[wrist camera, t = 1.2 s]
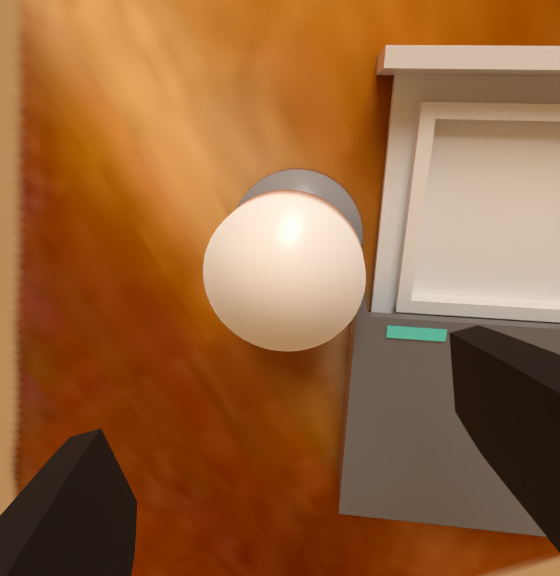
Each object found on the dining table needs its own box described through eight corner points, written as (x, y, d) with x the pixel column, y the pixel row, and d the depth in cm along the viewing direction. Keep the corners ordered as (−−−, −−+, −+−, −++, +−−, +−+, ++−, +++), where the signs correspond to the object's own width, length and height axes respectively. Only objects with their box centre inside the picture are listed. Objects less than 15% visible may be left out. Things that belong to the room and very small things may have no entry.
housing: (642, 304, 20) (698, 339, 17) (579, 490, 25) (615, 546, 21) (353, 287, 22) (356, 317, 19) (338, 466, 26) (338, 515, 23)
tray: (719, 58, 17) (801, 47, 14) (630, 324, 21) (679, 358, 18) (377, 56, 18) (386, 45, 15) (355, 306, 22) (358, 336, 19)
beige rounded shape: (369, 192, 16) (373, 200, 14) (356, 336, 18) (358, 357, 16) (211, 186, 16) (199, 193, 15) (216, 326, 18) (206, 345, 17)
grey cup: (367, 170, 20) (376, 186, 16) (356, 297, 22) (361, 341, 18) (233, 166, 20) (206, 180, 16) (235, 289, 23) (212, 330, 18)
